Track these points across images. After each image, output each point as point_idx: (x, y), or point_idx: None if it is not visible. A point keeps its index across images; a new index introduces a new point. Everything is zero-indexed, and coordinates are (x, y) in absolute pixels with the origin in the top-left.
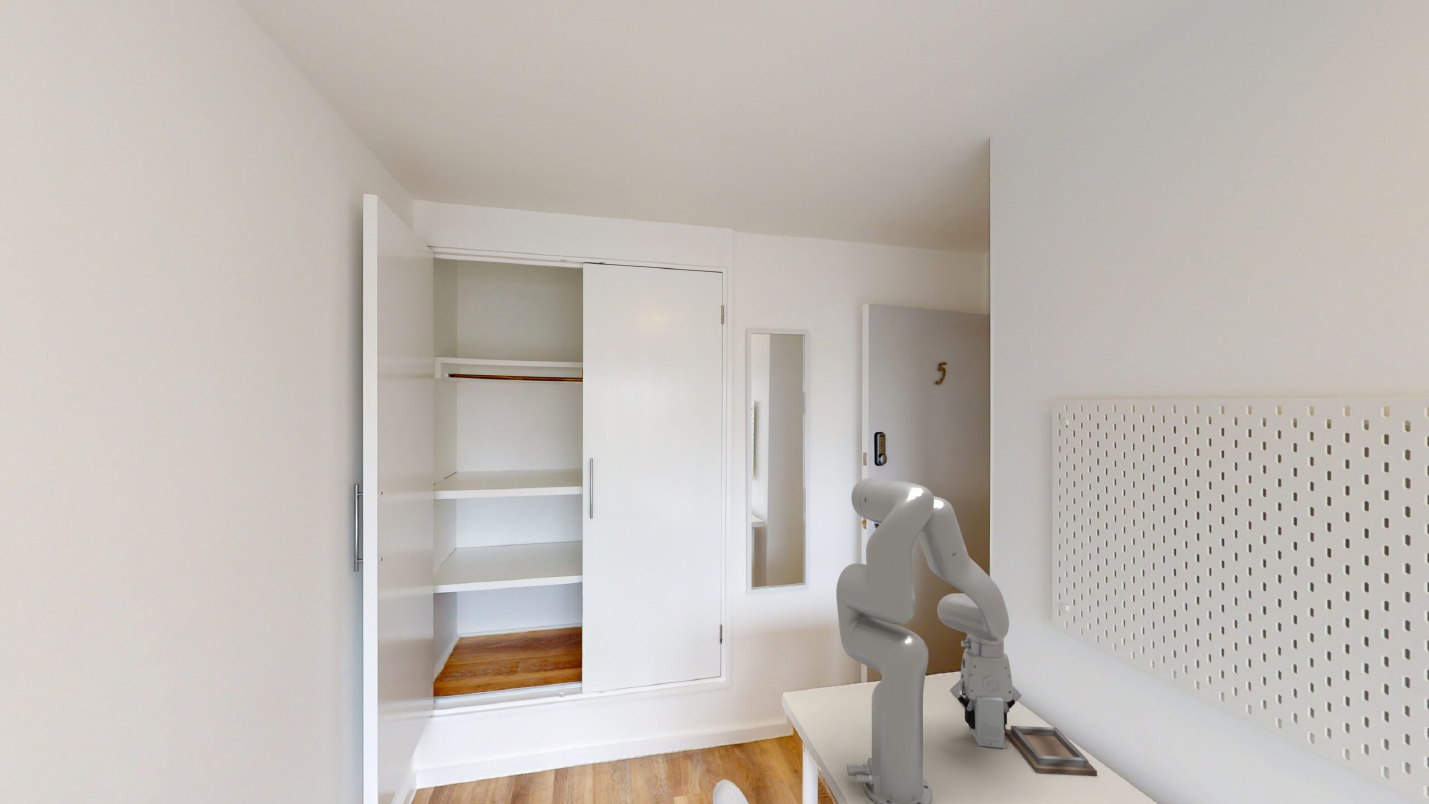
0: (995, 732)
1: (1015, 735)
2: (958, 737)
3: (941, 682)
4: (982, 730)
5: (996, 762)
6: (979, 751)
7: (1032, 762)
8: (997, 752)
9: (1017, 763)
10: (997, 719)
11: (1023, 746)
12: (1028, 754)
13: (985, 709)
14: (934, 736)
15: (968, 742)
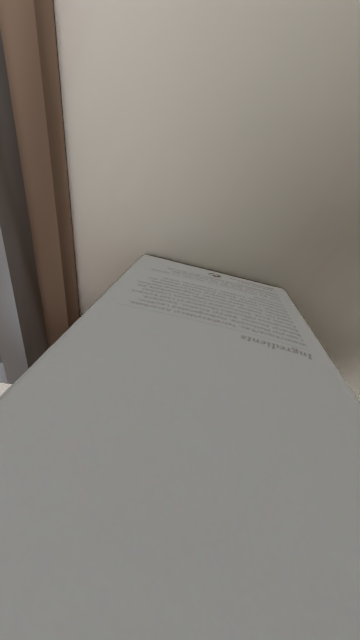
0: (180, 295)
1: (38, 328)
2: (336, 366)
3: None
4: (280, 321)
5: (275, 102)
6: (308, 237)
7: (26, 15)
8: (200, 224)
9: (132, 91)
10: (136, 348)
11: (28, 230)
12: (24, 140)
13: (307, 499)
14: None
15: (312, 323)
